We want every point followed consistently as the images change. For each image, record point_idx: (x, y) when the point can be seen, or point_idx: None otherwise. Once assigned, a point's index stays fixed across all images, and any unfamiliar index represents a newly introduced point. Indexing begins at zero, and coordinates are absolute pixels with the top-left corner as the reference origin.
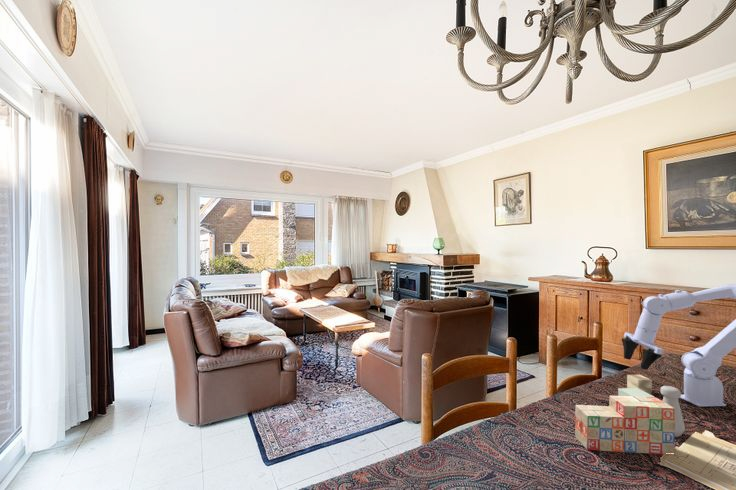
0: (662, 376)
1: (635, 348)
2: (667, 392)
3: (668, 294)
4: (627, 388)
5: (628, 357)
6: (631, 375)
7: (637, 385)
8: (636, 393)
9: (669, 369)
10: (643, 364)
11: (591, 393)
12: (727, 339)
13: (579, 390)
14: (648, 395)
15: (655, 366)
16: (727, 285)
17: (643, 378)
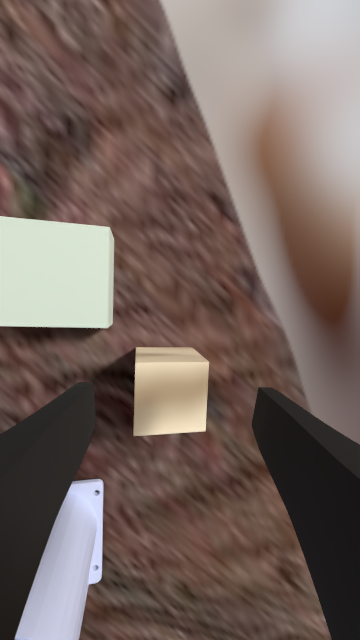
0: (272, 559)
1: (313, 577)
2: None
3: None
4: (105, 274)
5: (260, 421)
6: (198, 378)
7: (140, 355)
8: (43, 268)
9: (322, 626)
10: (49, 404)
11: (155, 150)
12: None
13: (187, 122)
14: (15, 307)
15: None
16: None
17: (156, 409)
